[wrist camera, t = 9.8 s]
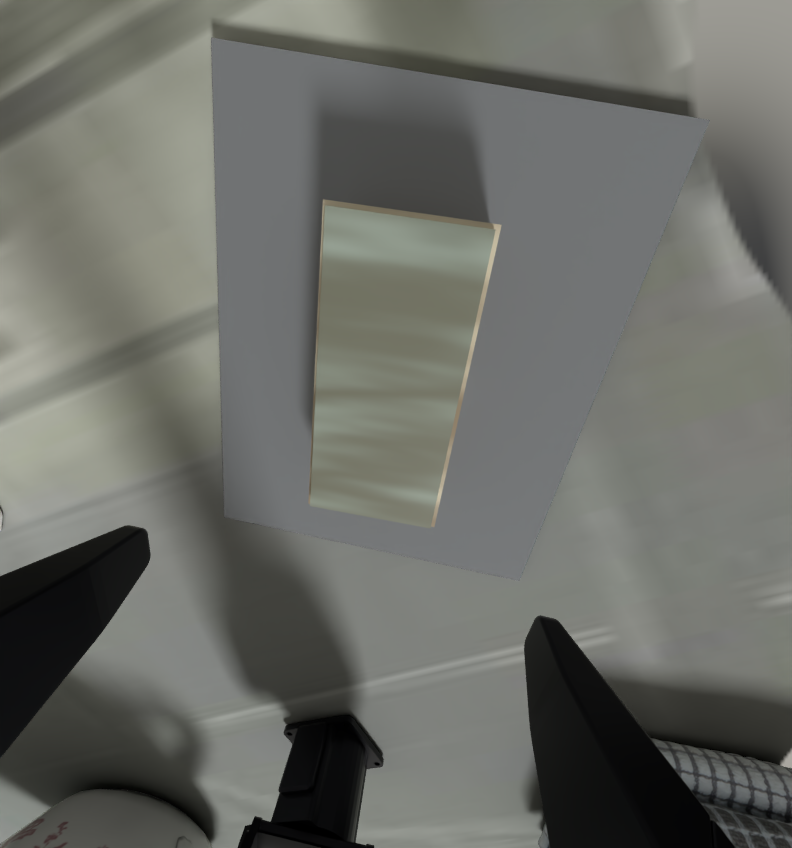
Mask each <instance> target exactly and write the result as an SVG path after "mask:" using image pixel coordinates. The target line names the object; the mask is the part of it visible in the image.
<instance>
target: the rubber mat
mask: <svg viewBox="0 0 792 848" xmlns="http://www.w3.org/2000/svg"><path fill="white" fill-rule="evenodd" d="M211 51H212V87H213V124H214V161H215V197H216V234H217V271H218V307H219V344H220V381H221V418H222V454H223V491H224V517H225V518H230V519H235V520H239V521H244V522H248V523H253V524H258V525H262V526H267V527H272V528H276V529H281V530H285V531H290V532H295V533H299V534H304V535H309V536H313V537H318V538H323V539H327V540H332V541H336V542H341V543H346V544H350V545H355V546H360V547H364V548H369V549H373V550H378V551H383V552H387V553H392V554H397V555H401V556H406V557H411V558H415V559H420V560H424V561H429V562H434V563H438V564H443V565H448V566H452V567H457V568H461V569H466V570H471V571H475V572H480V573H485V574H489V575H494V576H498V577H503V578H508V579H512V580H517V581H520V578H521V576H522V573H523V571H524V569H525V566H526V564H527V561H528V559H529V556H530V554H531V552H532V549H533V547H534V544H535V542H536V539H537V537H538V535H539V532H540V530H541V527H542V525H543V523H544V520H545V518H546V515H547V513H548V510H549V508H550V506H551V503H552V501H553V498H554V496H555V494H556V491H557V489H558V486H559V484H560V481H561V479H562V477H563V474H564V472H565V469H566V467H567V465H568V462H569V460H570V457H571V455H572V452H573V450H574V448H575V445H576V443H577V440H578V438H579V436H580V433H581V431H582V428H583V426H584V423H585V421H586V419H587V416H588V414H589V411H590V409H591V407H592V404H593V402H594V399H595V397H596V394H597V392H598V390H599V387H600V385H601V382H602V380H603V378H604V375H605V373H606V370H607V368H608V365H609V363H610V361H611V358H612V356H613V353H614V351H615V348H616V346H617V344H618V341H619V339H620V336H621V334H622V332H623V329H624V327H625V324H626V322H627V319H628V317H629V315H630V312H631V310H632V307H633V305H634V303H635V300H636V298H637V295H638V293H639V290H640V288H641V286H642V283H643V281H644V278H645V276H646V274H647V271H648V269H649V266H650V264H651V261H652V259H653V257H654V254H655V252H656V249H657V247H658V245H659V242H660V240H661V237H662V235H663V232H664V230H665V228H666V225H667V223H668V220H669V218H670V216H671V213H672V211H673V208H674V206H675V203H676V201H677V199H678V196H679V194H680V191H681V189H682V187H683V184H684V182H685V179H686V177H687V174H688V172H689V170H690V167H691V165H692V162H693V160H694V157H695V155H696V153H697V150H698V148H699V145H700V143H701V141H702V138H703V136H704V133H705V131H706V128H707V126H708V124H709V121H710V120H707V119H701V118H695V117H689V116H683V115H677V114H671V113H665V112H659V111H653V110H647V109H640V108H634V107H628V106H622V105H616V104H610V103H604V102H598V101H592V100H586V99H580V98H574V97H568V96H562V95H556V94H550V93H544V92H538V91H532V90H526V89H520V88H513V87H507V86H501V85H495V84H489V83H483V82H477V81H471V80H465V79H459V78H453V77H447V76H441V75H435V74H429V73H423V72H417V71H411V70H405V69H399V68H393V67H387V66H380V65H374V64H368V63H362V62H356V61H350V60H344V59H338V58H332V57H326V56H320V55H314V54H308V53H302V52H296V51H290V50H284V49H278V48H272V47H266V46H260V45H254V44H247V43H241V42H235V41H229V40H223V39H217V38H211ZM323 199H325V200H332V201H339V202H346V203H353V204H360V205H367V206H374V207H381V208H388V209H395V210H402V211H409V212H416V213H423V214H430V215H437V216H444V217H451V218H458V219H465V220H472V221H479V222H486V223H493V224H500V225H502V226H501V230H500V235H499V239H498V244H497V248H496V253H495V257H494V262H493V266H492V271H491V275H490V279H489V284H488V288H487V293H486V297H485V302H484V306H483V311H482V315H481V320H480V324H479V329H478V333H477V338H476V342H475V347H474V351H473V356H472V360H471V365H470V369H469V374H468V378H467V383H466V387H465V392H464V396H463V401H462V405H461V410H460V414H459V419H458V423H457V428H456V432H455V437H454V441H453V445H452V450H451V454H450V459H449V463H448V468H447V472H446V477H445V481H444V486H443V490H442V495H441V499H440V504H439V508H438V513H437V517H436V522H435V526H434V527H431V528H425V527H420V526H414V525H409V524H404V523H398V522H393V521H388V520H382V519H377V518H371V517H366V516H361V515H355V514H350V513H345V512H339V511H334V510H328V509H323V508H318V507H312V506H310V504H308V501H309V480H310V459H311V438H312V418H313V397H314V376H315V356H316V335H317V314H318V293H319V273H320V252H321V231H322V210H323Z"/></svg>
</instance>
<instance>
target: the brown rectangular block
mask: <svg viewBox="0 0 792 848" xmlns="http://www.w3.org/2000/svg"><path fill="white" fill-rule="evenodd" d="M501 226H502V225H500V224H493V223H486V222H479V221H472V220H465V219H458V218H451V217H444V216H437V215H430V214H423V213H416V212H409V211H402V210H395V209H388V208H381V207H374V206H367V205H360V204H353V203H346V202H339V201H332V200H325V199H323V210H322V231H321V252H320V273H319V293H318V314H317V335H316V356H315V376H314V397H313V418H312V438H311V459H310V480H309V501H308V504H310V506H312V507H318V508H323V509H328V510H334V511H339V512H345V513H350V514H355V515H361V516H366V517H371V518H377V519H382V520H388V521H393V522H398V523H404V524H409V525H414V526H420V527H425V528H431V527H434V526H435V522H436V517H437V513H438V508H439V504H440V499H441V495H442V490H443V486H444V481H445V477H446V472H447V468H448V463H449V459H450V454H451V450H452V445H453V441H454V437H455V432H456V428H457V423H458V419H459V414H460V410H461V405H462V401H463V396H464V392H465V387H466V383H467V378H468V374H469V369H470V365H471V360H472V356H473V351H474V347H475V342H476V338H477V333H478V329H479V324H480V320H481V315H482V311H483V306H484V302H485V297H486V293H487V288H488V284H489V279H490V275H491V271H492V266H493V262H494V257H495V253H496V248H497V244H498V239H499V235H500V230H501Z"/></svg>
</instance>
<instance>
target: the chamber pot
mask: <svg viewBox="0 0 792 848" xmlns="http://www.w3.org/2000/svg"><path fill="white" fill-rule="evenodd" d="M0 848H212V844H211V843H210V841H209V840H208V838H207V837H206V835H205V833H204V832H203V831H202V830H201V829H200V828H199V826H198V825H197V824H196V823H195V822H194V821H193V820H192V819H191V818H190V817H189V816H188V815H187V814H185V813H184V812H183V811H182V810H180V809H178V808H177V807H175V806H173V805H172V804H170V803H168V802H166V801H164V800H162V799H159V798H157V797H154V796H152V795H149V794H145V793H142V792H138V791H134V790H126V789H95V790H88V791H80V792H78V793H76V794H74V795H72V796H70V797H68V798H66V799H64V800H62V801H61V802H59V803H57V804H56V805H54V806H53V807H51V808H50V809H48V810H47V811H46V812H44V813H43V814H41V815H40V816H39V817H37V818H36V819H34V820H33V821H32V822H30V823H29V824H27V825H26V826H25V827H23V828H22V829H20V830H19V831H18V832H16V833H15V834H13V835H12V836H11V837H9V838H8V839H6V840H5V841H4V842H2V843H1V844H0Z"/></svg>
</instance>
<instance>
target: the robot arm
mask: <svg viewBox="0 0 792 848" xmlns="http://www.w3.org/2000/svg"><path fill="white" fill-rule="evenodd" d="M149 560H150V547H149V540H148V533H147V531H146V530H145V529H143V528H140V527H135V526H130V525H127V526H123V527H121V528H118V529H116V530H113V531H111V532H108V533H106V534H103V535H101V536H98V537H96V538H93V539H91V540H88V541H86V542H83V543H81V544H79V545H76V546H74V547H71V548H69V549H66V550H64V551H61V552H59V553H56V554H54V555H51V556H49V557H46V558H44V559H41V560H39V561H36V562H34V563H32V564H29V565H27V566H24V567H22V568H19V569H17V570H14V571H12V572H9V573H7V574H4V575H2V576H0V758H1V756H2V755H3V754H4V753H5V752H6V750H7V749H8V748H9V747H10V745H11V744H12V743H13V742H14V740H15V739H16V738H17V737H18V736H19V734H20V733H21V732H22V731H23V729H24V728H25V727H26V726H27V724H28V723H29V722H30V721H31V719H32V718H33V717H34V716H35V715H36V713H37V712H38V711H39V710H40V708H41V707H42V706H43V705H44V703H45V702H46V701H47V700H48V698H49V697H50V696H51V695H52V694H53V692H54V691H55V690H56V689H57V687H58V686H59V685H60V684H61V682H62V681H63V680H64V679H65V677H66V676H67V675H68V674H69V673H70V671H71V670H72V669H73V668H74V666H75V665H76V664H77V663H78V661H79V660H80V659H81V658H82V656H83V655H84V654H85V653H86V652H87V650H88V649H89V648H90V647H91V645H92V644H93V643H94V642H95V640H96V639H97V638H98V637H99V635H100V634H101V633H102V631H103V630H104V629H105V627H106V626H107V624H108V623H109V622H110V620H111V619H112V617H113V616H114V614H115V613H116V611H117V610H118V609H119V607H120V606H121V604H122V603H123V601H124V600H125V598H126V597H127V595H128V594H129V592H130V591H131V589H132V588H133V586H134V585H135V583H136V582H137V580H138V579H139V577H140V576H141V574H142V573H143V571H144V570H145V568H146V567H147V565H148V563H149ZM524 655H525V668H526V682H527V696H528V710H529V722H530V731H531V738H532V745H533V751H534V757H535V763H536V769H537V774H538V780H539V786H540V792H541V798H542V804H543V810H544V816H545V822H546V828H547V834H548V840H549V846H550V848H736V847H735V846H734V844H733V843H732V842H731V841H730V839H729V838H728V837H727V835H726V834H725V833H724V832H723V830H722V829H721V828H720V826H719V825H718V824H717V823H716V822H715V821H714V820H711V818H710V814H709V813H708V811H707V810H706V809H705V808H704V806H703V805H702V804H701V802H700V801H699V800H698V799H697V797H696V796H695V795H694V794H693V792H692V791H691V790H690V788H689V787H688V786H687V785H686V783H685V782H684V781H683V779H682V778H681V777H680V776H679V774H678V773H677V772H676V770H675V769H674V768H673V767H672V765H671V764H670V763H669V762H668V760H667V759H666V758H665V756H664V755H663V754H662V753H661V751H660V750H659V749H658V747H657V746H656V745H655V744H654V742H653V741H652V740H651V739H650V737H649V736H648V735H647V733H646V732H645V731H644V730H643V728H642V727H641V726H640V724H639V723H638V722H637V721H636V719H635V718H634V717H633V716H632V714H631V713H630V712H629V710H628V709H627V708H626V707H625V705H624V704H623V703H622V701H621V700H620V699H619V698H618V696H617V695H616V694H615V693H614V691H613V690H612V689H611V687H610V686H609V685H608V684H607V682H606V681H605V680H604V678H603V677H602V676H601V675H600V673H599V672H598V671H597V670H596V668H595V667H594V666H593V664H592V663H591V662H590V661H589V659H588V658H587V657H586V655H585V654H584V653H583V652H582V650H581V649H580V648H579V647H578V645H577V644H576V643H575V641H574V640H573V639H572V638H571V636H570V635H569V634H568V632H567V631H566V630H565V629H564V627H563V626H562V625H561V624H560V622H559V621H557V620H556V619H554V618H549V617H545V616H537V617H536V618H535V620H534V622H533V624H532V626H531V629H530V631H529V633H528V635H527V637H526V640H525V645H524ZM284 735H285V736H286V737H287V738H288V739H289V740H290V742H291V743H292V748H291V751H290V754H289V757H288V760H287V764H286V767H285V770H284V773H283V776H282V780H281V783H280V786H279V792H280V794H279V797H278V800H277V804H276V807H275V810H274V813H273V817H272V820H271V822H269V821H265V820H262V818H260V817H256V816H255V817H254V820H253V822H252V825H247V826H245V828H244V831H243V834H242V837H241V840H240V842H239V845H238V848H374V845H370V844H366V845H362V844H358V843H355V842H356V835H357V829H358V822H359V816H360V809H361V802H362V796H363V789H364V783H365V776H366V769H370V768H378V767H382V766H383V760H384V759H383V757H382V756H381V754H380V753H379V752H378V750H377V749H376V748H375V746H374V745H373V744H372V742H371V741H370V740H369V739H368V737H367V736H366V735H365V733H364V732H363V731H362V729H361V728H360V727H359V725H358V724H357V723H356V722H355V720H354V719H353V718H352V717H351V716H348V715H344V716H338V717H333V718H327V719H321V720H315V721H309V722H303V723H297V724H291V725H287V726H286V727H285V730H284Z"/></svg>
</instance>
